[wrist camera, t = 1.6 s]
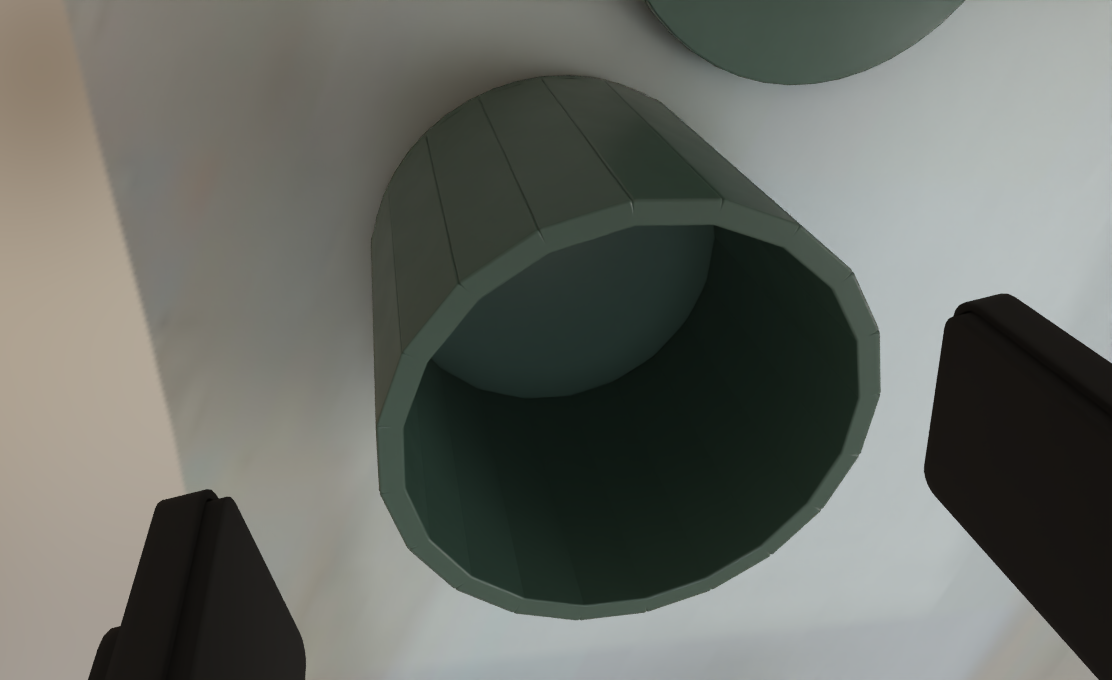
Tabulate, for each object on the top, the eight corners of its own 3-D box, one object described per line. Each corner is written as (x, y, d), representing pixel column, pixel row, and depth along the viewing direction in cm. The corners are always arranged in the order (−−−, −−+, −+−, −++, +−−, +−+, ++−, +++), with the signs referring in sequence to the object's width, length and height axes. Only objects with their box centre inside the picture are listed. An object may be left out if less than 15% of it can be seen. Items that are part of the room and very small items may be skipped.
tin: (755, 79, 30) (948, 196, 20) (694, 393, 38) (814, 593, 28) (362, 69, 27) (363, 201, 17) (379, 413, 35) (387, 644, 25)
